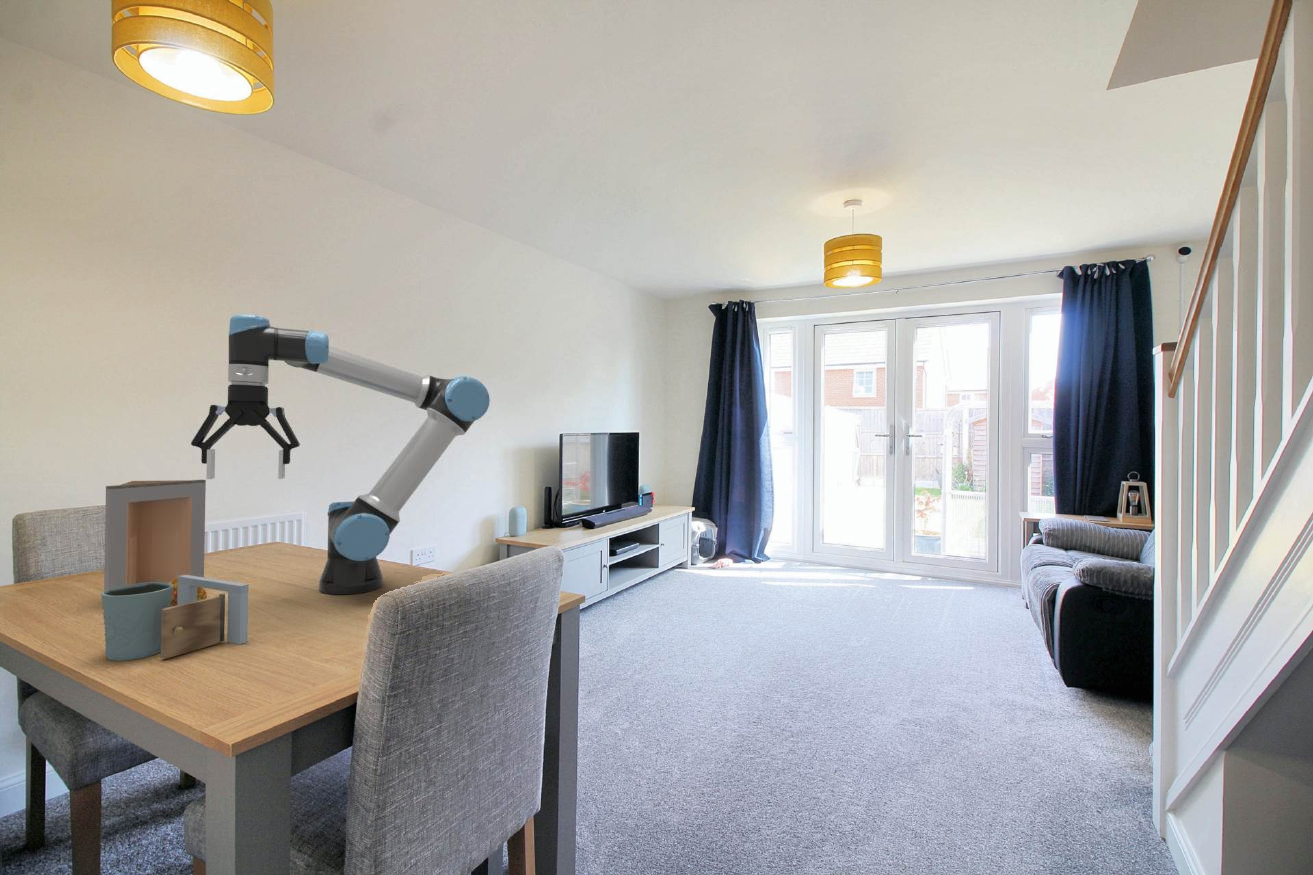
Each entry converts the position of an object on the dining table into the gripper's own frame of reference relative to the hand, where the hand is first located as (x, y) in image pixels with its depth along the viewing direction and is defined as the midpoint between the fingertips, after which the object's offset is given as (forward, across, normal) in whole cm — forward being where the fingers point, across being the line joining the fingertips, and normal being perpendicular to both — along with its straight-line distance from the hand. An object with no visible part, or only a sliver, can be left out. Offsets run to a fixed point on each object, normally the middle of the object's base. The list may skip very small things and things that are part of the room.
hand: (246, 478), depth 135 cm
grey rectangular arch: (+31, -2, -15) cm, 34 cm away
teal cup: (+31, -12, -20) cm, 39 cm away
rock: (+31, -15, +4) cm, 35 cm away
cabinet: (+31, -26, +23) cm, 46 cm away
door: (+30, -2, -23) cm, 38 cm away
